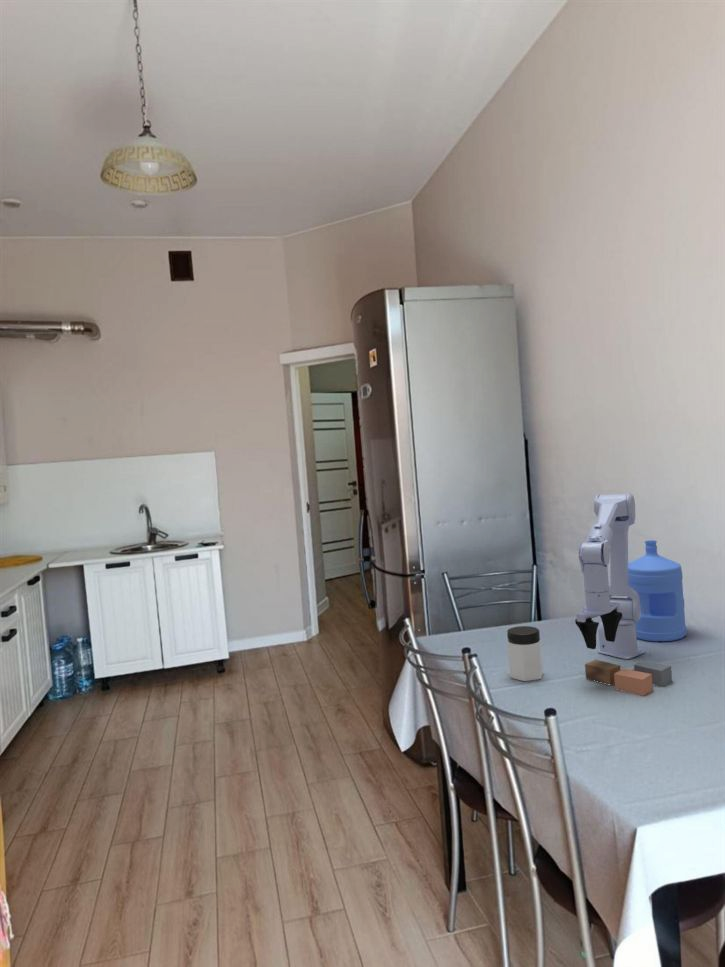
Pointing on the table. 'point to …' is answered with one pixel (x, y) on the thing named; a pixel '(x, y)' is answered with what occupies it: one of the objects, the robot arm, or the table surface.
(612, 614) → the robot arm
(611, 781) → the table surface
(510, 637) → the jar
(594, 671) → the walnut block
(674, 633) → the water jug
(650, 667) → the grey block
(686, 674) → the table surface
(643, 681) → the terracotta block
